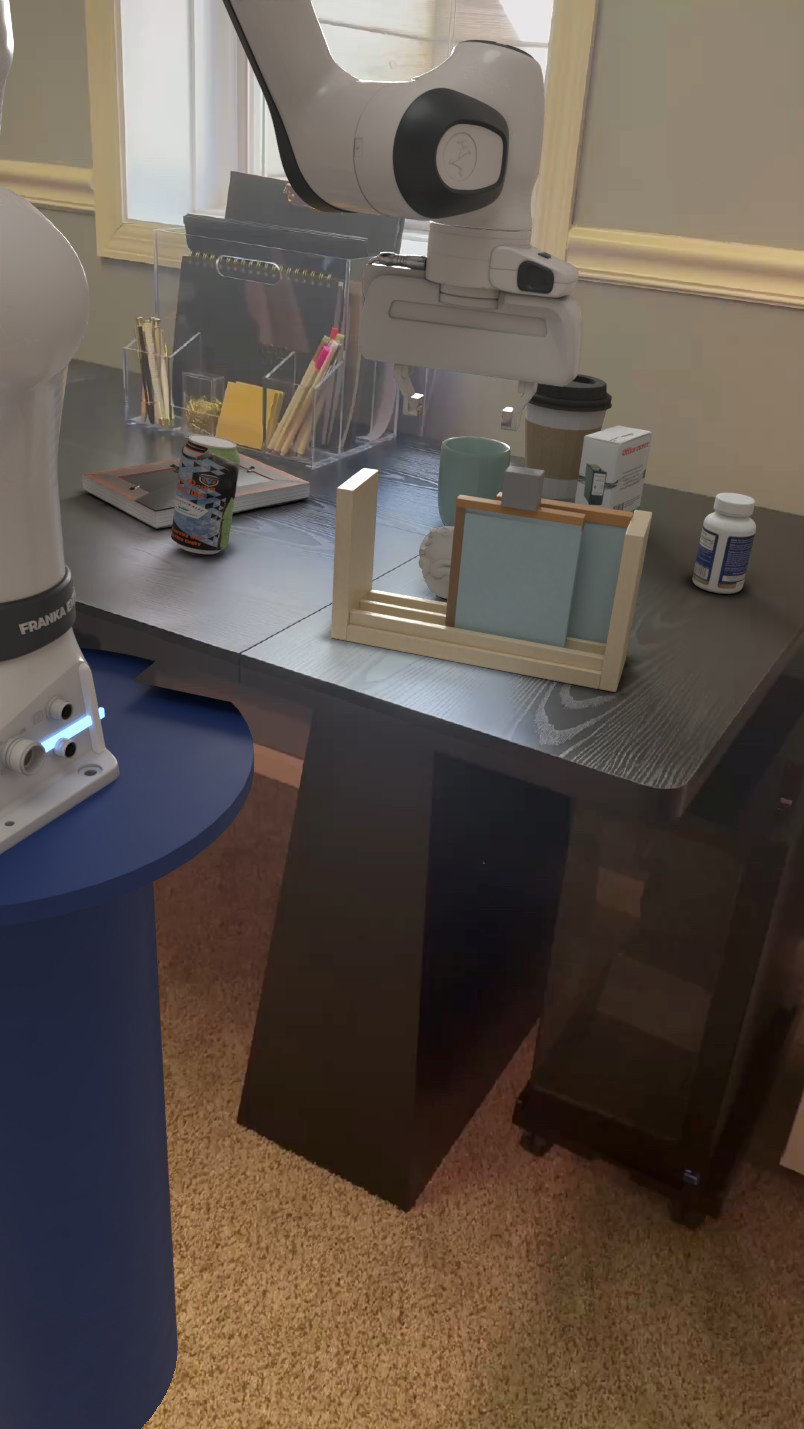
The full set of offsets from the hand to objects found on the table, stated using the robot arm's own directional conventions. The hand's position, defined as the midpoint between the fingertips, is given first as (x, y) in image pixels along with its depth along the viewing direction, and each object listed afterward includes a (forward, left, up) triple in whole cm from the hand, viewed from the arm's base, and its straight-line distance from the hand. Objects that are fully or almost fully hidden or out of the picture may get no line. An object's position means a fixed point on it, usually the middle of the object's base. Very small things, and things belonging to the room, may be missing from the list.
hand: (460, 421), depth 101 cm
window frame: (-11, -6, -18) cm, 21 cm away
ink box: (+29, -12, -18) cm, 36 cm away
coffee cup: (+39, -4, -18) cm, 43 cm away
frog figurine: (0, 0, -18) cm, 18 cm away
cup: (+21, +3, -18) cm, 28 cm away
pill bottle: (+16, -26, -18) cm, 35 cm away
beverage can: (+1, +27, -18) cm, 32 cm away
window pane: (-12, -9, -16) cm, 22 cm away
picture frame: (+17, +36, -18) cm, 44 cm away
